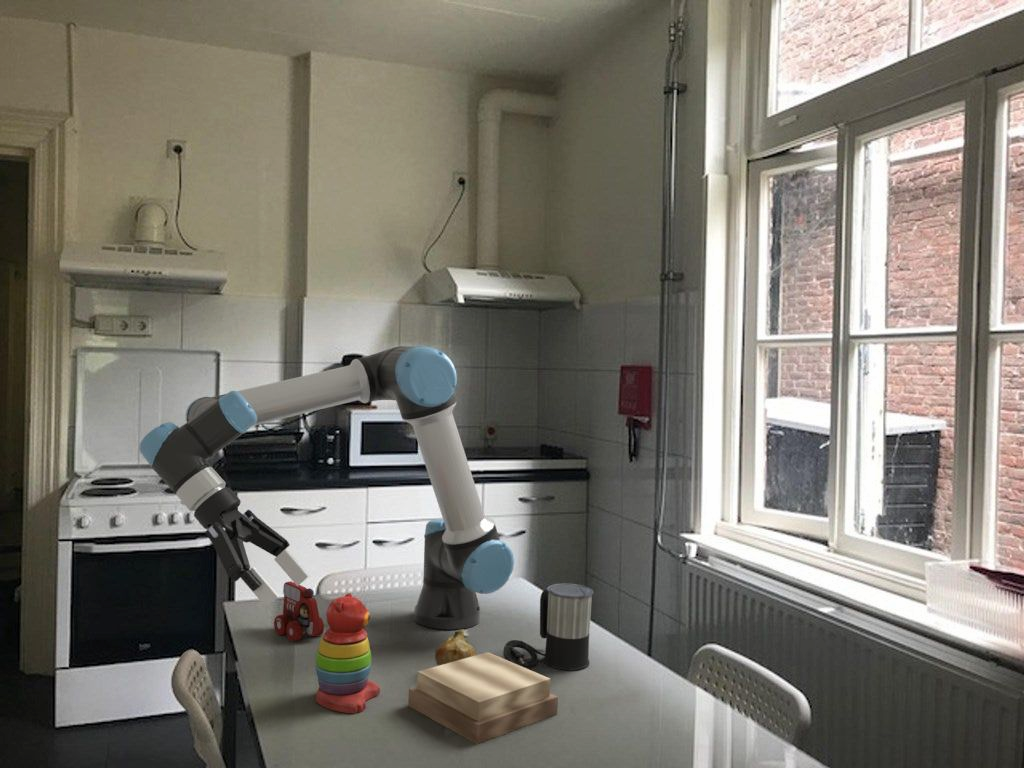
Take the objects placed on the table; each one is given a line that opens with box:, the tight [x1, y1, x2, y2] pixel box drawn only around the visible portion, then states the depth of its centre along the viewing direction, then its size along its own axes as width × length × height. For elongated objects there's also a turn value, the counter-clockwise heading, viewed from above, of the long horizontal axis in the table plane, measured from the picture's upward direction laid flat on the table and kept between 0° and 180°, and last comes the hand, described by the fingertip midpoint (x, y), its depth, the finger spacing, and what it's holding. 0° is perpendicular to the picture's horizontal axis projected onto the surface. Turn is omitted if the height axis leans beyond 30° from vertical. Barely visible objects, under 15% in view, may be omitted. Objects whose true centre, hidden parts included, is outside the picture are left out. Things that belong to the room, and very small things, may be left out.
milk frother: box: [502, 582, 594, 671], centre depth 165 cm, size 14×16×15 cm
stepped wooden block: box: [407, 651, 559, 745], centre depth 141 cm, size 18×18×6 cm
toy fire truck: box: [273, 580, 325, 643], centre depth 175 cm, size 7×12×10 cm, turn 45°
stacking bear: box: [315, 592, 381, 714], centre depth 143 cm, size 11×10×18 cm
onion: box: [434, 628, 477, 666], centre depth 158 cm, size 8×8×8 cm
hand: (289, 591), depth 144 cm, fingers open, 13 cm apart
